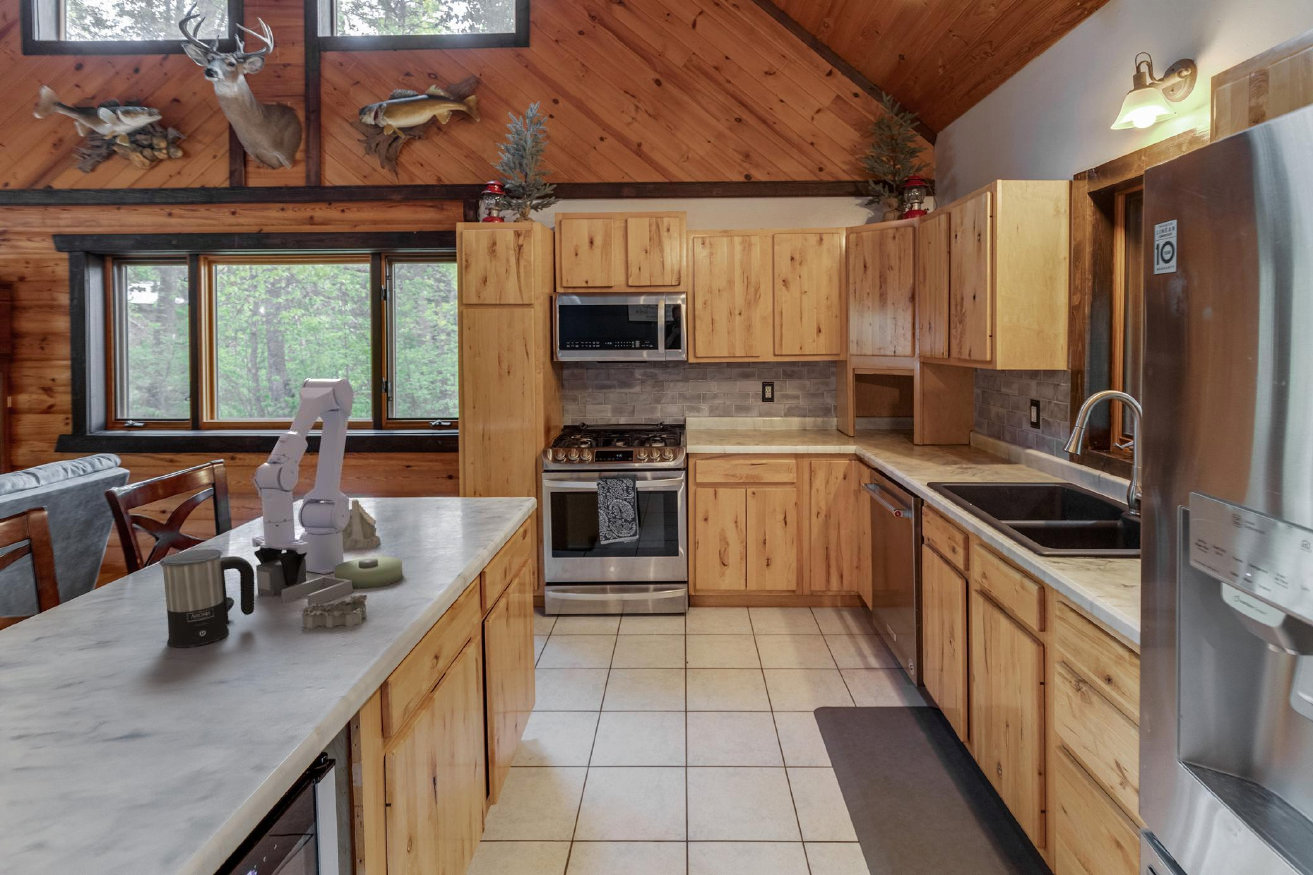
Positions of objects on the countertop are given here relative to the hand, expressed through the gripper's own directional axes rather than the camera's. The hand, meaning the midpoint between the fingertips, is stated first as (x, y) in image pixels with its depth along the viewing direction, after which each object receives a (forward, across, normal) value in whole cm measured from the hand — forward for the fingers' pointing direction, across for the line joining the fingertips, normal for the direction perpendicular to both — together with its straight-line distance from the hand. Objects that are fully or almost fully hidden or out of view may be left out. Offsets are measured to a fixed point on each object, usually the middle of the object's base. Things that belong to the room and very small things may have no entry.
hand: (282, 582), depth 154 cm
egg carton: (+2, +25, -9) cm, 27 cm away
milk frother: (+2, +7, -22) cm, 23 cm away
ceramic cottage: (+2, -17, +35) cm, 39 cm away
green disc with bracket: (+1, +11, +7) cm, 13 cm away
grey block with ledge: (+1, 0, 0) cm, 1 cm away
